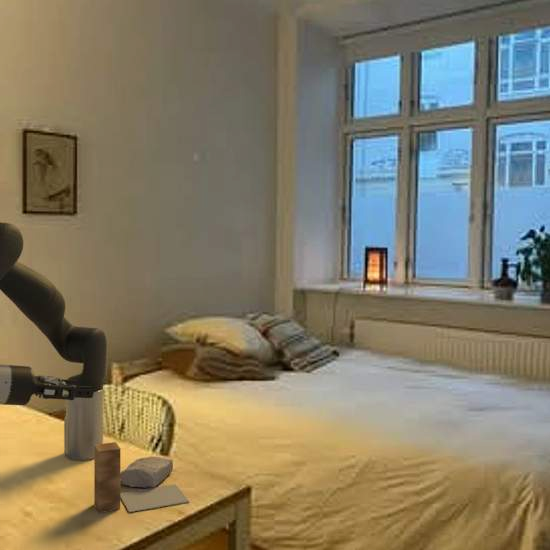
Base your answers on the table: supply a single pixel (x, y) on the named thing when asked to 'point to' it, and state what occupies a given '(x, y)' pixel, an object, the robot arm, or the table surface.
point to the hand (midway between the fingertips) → (85, 389)
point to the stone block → (146, 472)
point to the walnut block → (107, 476)
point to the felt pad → (153, 498)
